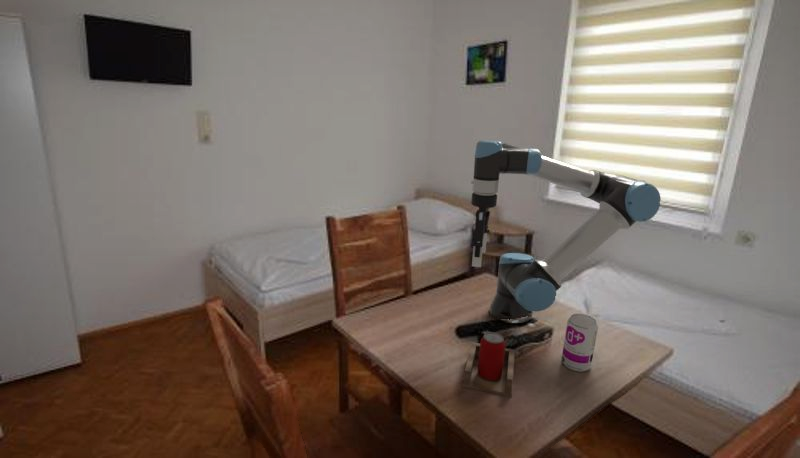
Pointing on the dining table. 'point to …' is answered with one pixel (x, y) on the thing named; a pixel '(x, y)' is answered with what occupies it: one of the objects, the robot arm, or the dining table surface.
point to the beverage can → (491, 356)
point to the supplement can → (579, 342)
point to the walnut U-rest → (479, 383)
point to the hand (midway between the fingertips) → (478, 259)
